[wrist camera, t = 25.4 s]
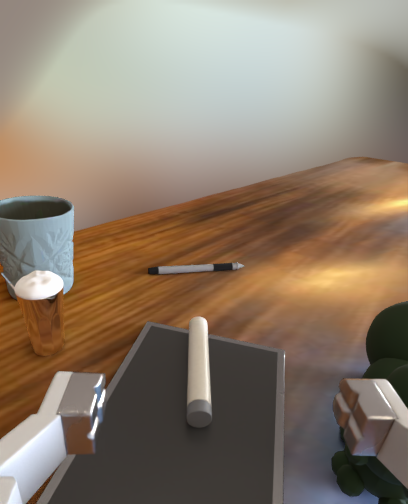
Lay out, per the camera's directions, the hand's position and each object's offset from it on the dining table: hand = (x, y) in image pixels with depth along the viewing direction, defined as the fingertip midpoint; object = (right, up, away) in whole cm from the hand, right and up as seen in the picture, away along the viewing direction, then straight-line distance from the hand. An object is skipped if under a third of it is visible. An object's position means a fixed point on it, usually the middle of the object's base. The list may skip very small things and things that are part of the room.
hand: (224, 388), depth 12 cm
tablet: (-2, -11, +19) cm, 22 cm away
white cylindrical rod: (-1, -10, +17) cm, 20 cm away
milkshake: (-19, -6, +26) cm, 33 cm away
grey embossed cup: (-24, 0, +37) cm, 44 cm away
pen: (-2, +1, +44) cm, 44 cm away
